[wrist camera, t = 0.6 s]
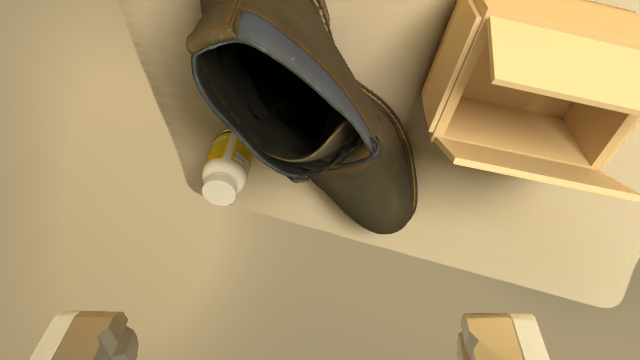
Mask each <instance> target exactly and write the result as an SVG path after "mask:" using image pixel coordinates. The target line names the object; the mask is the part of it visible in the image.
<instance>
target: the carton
mask: <svg viewBox="0 0 640 360" xmlns="http://www.w3.org/2000/svg"><path fill="white" fill-rule="evenodd" d="M490 16H494V17H498V18H503V19H507V20H511V21H516V22H520V23H524V24H529V25H533V26H537V27H542V28H546V29H550V30H555V31H559V32H563V33H567V34H572V35H576V36H580V37H585V38H589V39H593V40H598V41H602V42H606V43H611V44H615V45H619V46H624V47H628V48H632V49H637V50H640V16H639V15H638V14H637V13H636V12H634V11H630V10H626V9H621V8H617V7H613V6H609V5H605V4H600V3H596V2H592V1H588V0H456V3H455V6H454V8H453V11H452V13H451V16H450V18H449V21H448V24H447V26H446V29H445V31H444V34H443V37H442V39H441V42H440V44H439V47H438V50H437V52H436V55H435V57H434V60H433V63H432V65H431V68H430V70H429V73H428V76H427V78H426V81H425V83H424V86H423V89H422V91H421V97H422V102H423V107H424V112H425V117H426V122H427V127H428V132H429V137H430V142H435V139H436V137H441V138H445V139H450V140H455V141H460V142H465V143H469V144H474V145H479V146H484V147H489V148H493V149H498V150H503V151H508V152H513V153H517V154H522V155H527V156H532V157H537V158H541V159H546V160H551V161H556V162H561V163H565V164H570V165H575V166H580V167H585V168H589V169H594V170H599V169H600V168H605V167H606V165H607V164H608V163H609V162H610V160H611V159H612V158H613V156H614V155H615V154H616V152H617V151H618V150H619V148H620V147H621V146H622V144H623V143H624V142H625V140H626V139H627V138H628V136H629V135H630V134H631V132H632V131H633V130H634V128H635V127H636V126H637V124H638V123H639V122H640V116H637V115H632V114H627V113H623V112H618V111H614V110H609V109H605V108H600V107H596V106H591V105H586V104H582V103H577V102H573V101H568V100H564V99H559V98H555V97H550V96H546V95H541V94H536V93H532V92H527V91H523V90H518V89H514V88H509V87H505V86H500V85H495V84H491V74H490V60H489V46H488V32H487V20H488V18H489V17H490Z"/></svg>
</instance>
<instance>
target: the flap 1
mask: <svg viewBox="0 0 640 360" xmlns="http://www.w3.org/2000/svg"><path fill="white" fill-rule="evenodd" d="M487 32H488V46H489V60H490V74H491V84H495V85H500V86H505V87H509V88H514V89H518V90H523V91H527V92H532V93H536V94H541V95H546V96H550V97H555V98H559V99H564V100H568V101H573V102H577V103H582V104H586V105H591V106H596V107H600V108H605V109H609V110H614V111H618V112H623V113H627V114H632V115H637V116H640V50H637V49H632V48H628V47H624V46H619V45H615V44H611V43H606V42H602V41H598V40H593V39H589V38H585V37H580V36H576V35H572V34H567V33H563V32H559V31H555V30H550V29H546V28H542V27H537V26H533V25H529V24H524V23H520V22H516V21H511V20H507V19H503V18H498V17H494V16H490V17H489V18H488V20H487Z"/></svg>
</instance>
